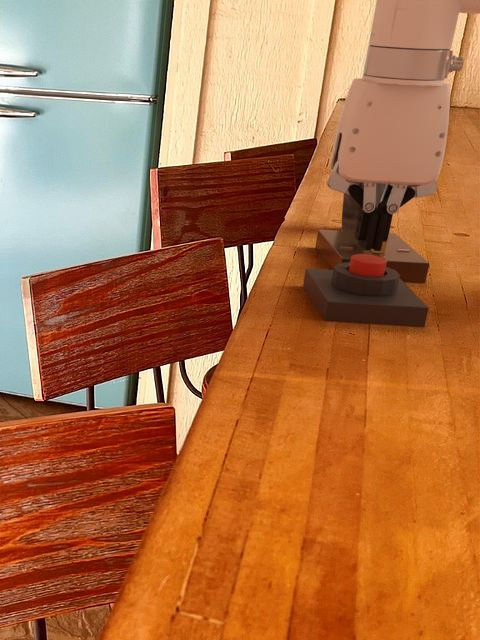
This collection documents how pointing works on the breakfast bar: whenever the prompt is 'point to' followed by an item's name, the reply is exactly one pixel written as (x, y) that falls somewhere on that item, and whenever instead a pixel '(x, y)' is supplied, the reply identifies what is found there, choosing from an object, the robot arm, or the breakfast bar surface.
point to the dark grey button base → (364, 297)
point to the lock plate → (397, 254)
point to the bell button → (367, 265)
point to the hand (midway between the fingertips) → (369, 247)
